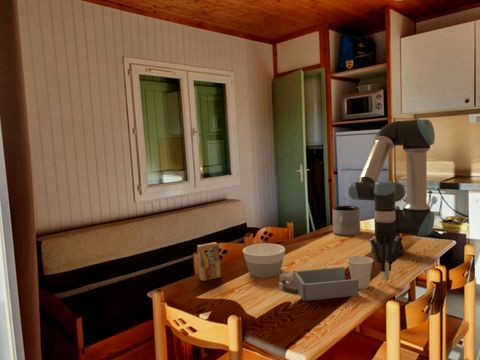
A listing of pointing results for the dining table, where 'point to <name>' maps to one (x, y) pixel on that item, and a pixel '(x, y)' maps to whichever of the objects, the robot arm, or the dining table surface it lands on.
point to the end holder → (324, 283)
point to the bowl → (264, 259)
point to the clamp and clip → (287, 277)
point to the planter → (346, 220)
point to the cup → (360, 270)
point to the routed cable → (289, 288)
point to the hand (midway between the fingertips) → (385, 279)
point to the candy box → (208, 261)
